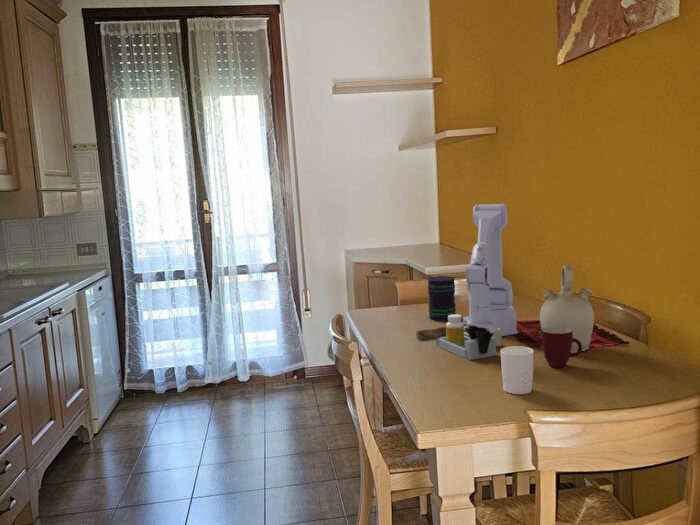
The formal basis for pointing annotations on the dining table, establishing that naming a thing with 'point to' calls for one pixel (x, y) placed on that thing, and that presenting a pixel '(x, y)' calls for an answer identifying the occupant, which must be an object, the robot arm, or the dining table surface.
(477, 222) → the robot arm
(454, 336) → the supplement bottle
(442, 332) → the walnut guide
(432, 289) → the storage jar
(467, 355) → the gray rectangular open frame
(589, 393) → the dining table surface
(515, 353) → the white cup
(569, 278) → the jug
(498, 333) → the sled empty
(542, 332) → the mug
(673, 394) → the dining table surface
